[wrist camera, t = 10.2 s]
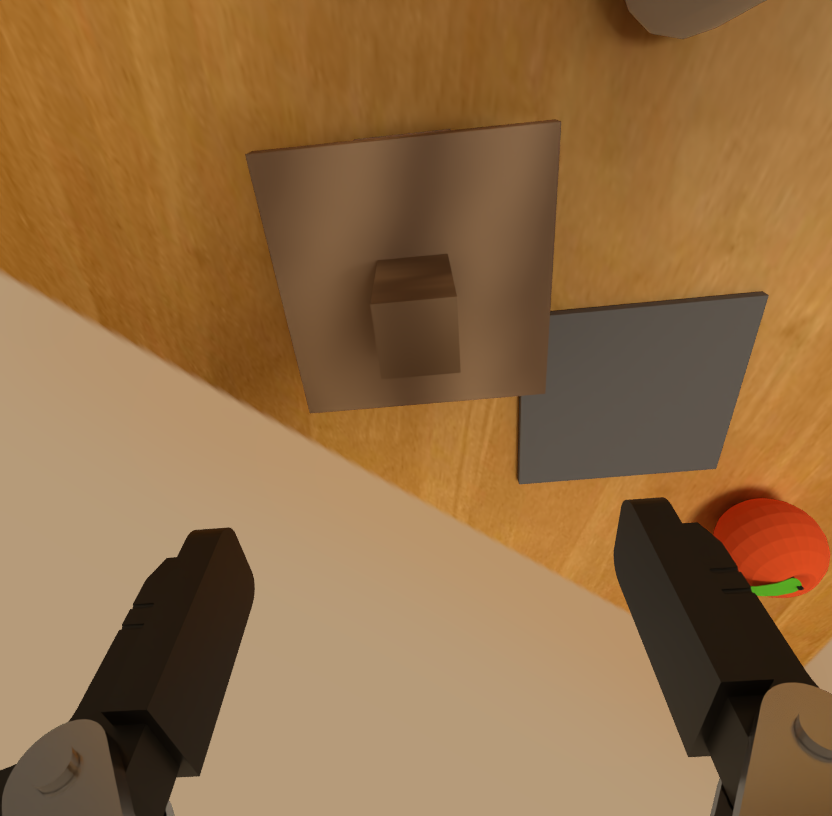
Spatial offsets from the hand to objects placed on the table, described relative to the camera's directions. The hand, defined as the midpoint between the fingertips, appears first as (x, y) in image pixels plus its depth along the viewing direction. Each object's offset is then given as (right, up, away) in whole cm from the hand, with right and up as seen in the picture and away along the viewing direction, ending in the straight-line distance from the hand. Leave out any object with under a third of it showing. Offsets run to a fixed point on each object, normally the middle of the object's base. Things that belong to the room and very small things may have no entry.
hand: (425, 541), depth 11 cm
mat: (+14, +4, +23) cm, 27 cm away
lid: (0, +9, +13) cm, 15 cm away
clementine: (+25, -5, +29) cm, 38 cm away
